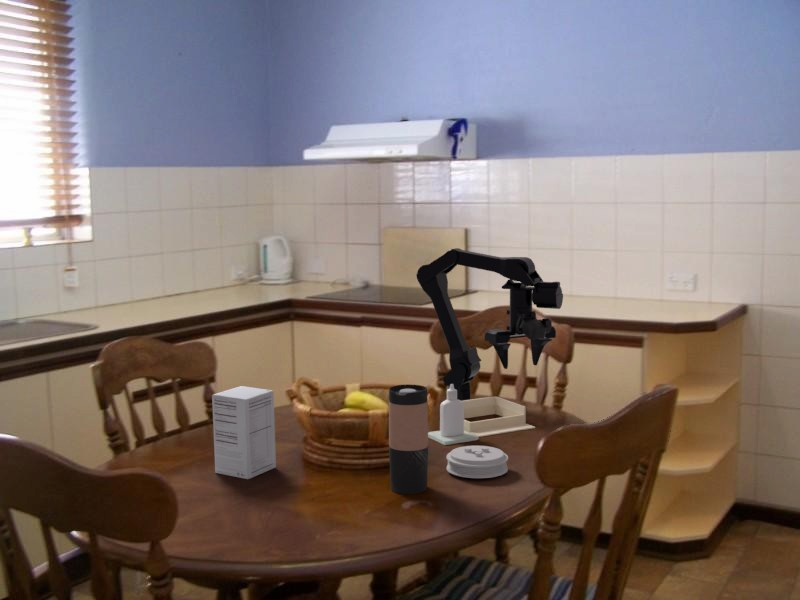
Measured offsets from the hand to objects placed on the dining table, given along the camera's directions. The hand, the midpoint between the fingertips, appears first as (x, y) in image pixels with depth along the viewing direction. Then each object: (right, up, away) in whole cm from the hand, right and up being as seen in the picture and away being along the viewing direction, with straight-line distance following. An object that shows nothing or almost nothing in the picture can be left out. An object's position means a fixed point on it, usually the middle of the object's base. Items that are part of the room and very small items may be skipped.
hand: (520, 366), depth 245 cm
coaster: (-19, -15, -22) cm, 33 cm away
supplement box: (-63, -19, -46) cm, 80 cm away
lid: (-15, -19, -48) cm, 54 cm away
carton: (-9, -13, -10) cm, 19 cm away
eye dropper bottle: (-19, -14, -22) cm, 32 cm away
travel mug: (-29, -20, -58) cm, 68 cm away
